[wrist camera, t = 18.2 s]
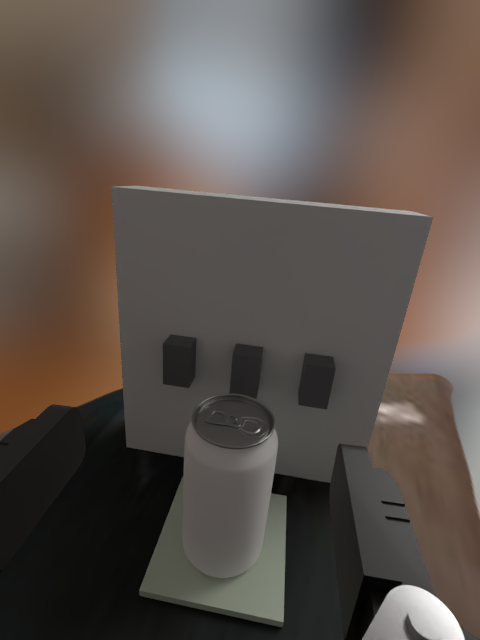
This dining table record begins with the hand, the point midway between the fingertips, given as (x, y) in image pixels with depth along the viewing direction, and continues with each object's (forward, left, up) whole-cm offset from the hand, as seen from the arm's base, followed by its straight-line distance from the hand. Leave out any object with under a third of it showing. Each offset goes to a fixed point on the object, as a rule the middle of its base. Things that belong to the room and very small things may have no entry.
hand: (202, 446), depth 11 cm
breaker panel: (+13, -17, -20) cm, 29 cm away
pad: (+7, -9, -20) cm, 23 cm away
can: (+6, -9, -19) cm, 22 cm away
